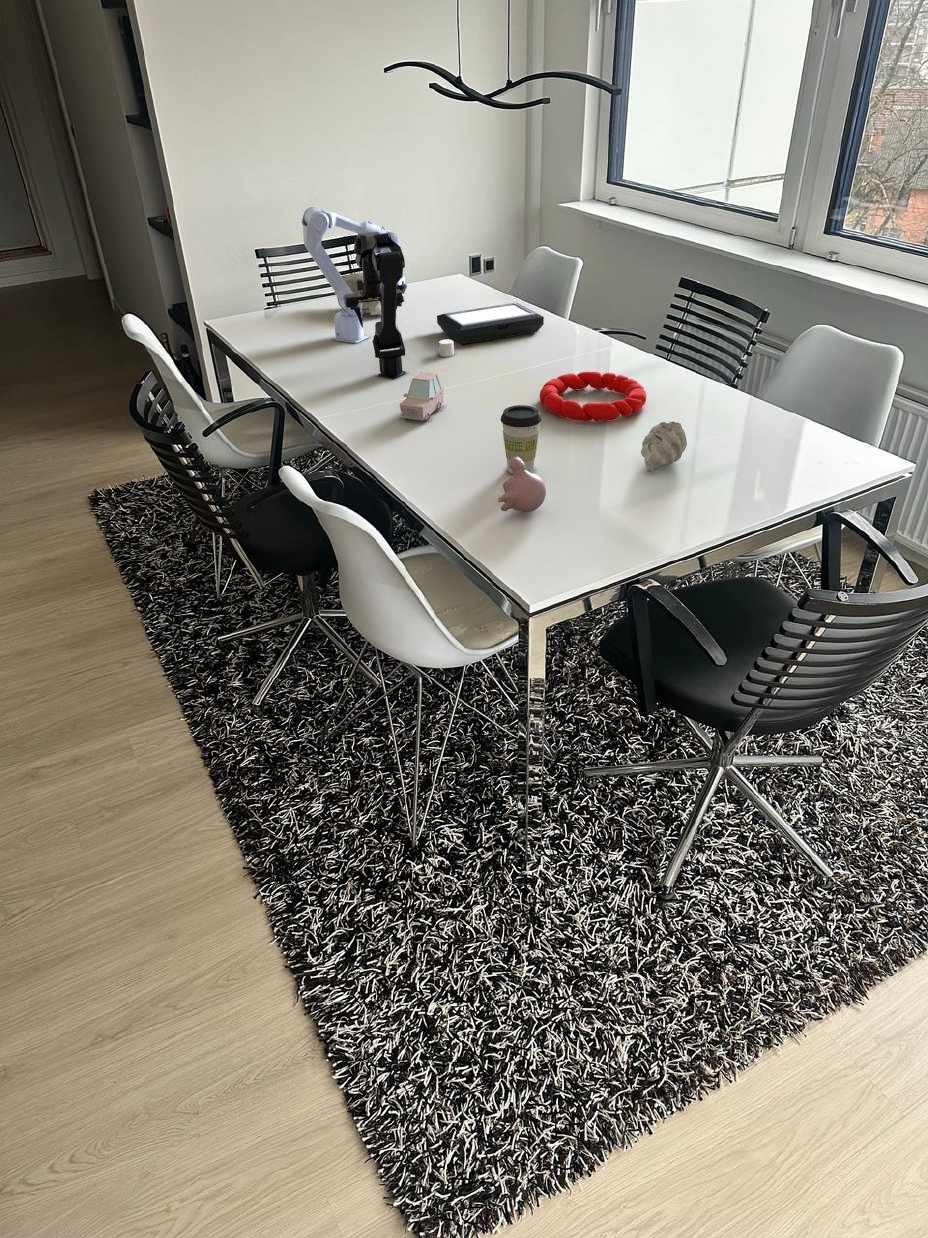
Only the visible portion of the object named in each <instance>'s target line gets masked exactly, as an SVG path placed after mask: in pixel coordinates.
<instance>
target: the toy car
mask: <svg viewBox="0 0 928 1238" xmlns="http://www.w3.org/2000/svg"><path fill="white" fill-rule="evenodd" d="M441 384H442V383H441V381H440V378H439V375H438V373H436V372H426V371H419V373H417V374H416V375H414V376H413V377H412V378H411V381H410V385H409V388H408V390H407V391H408V392H407V393H404V394H403V397H404V398H405V399H404V400H403V401H401V402H400V403H399V409H400V414H401V418H402V419H407V420H415V421H423V422H424V421H425V422H426V421H429V420H430V416H431V414H433V413H434V412H435V411H440V410H441V408H442V406H443V403H444V395H445V393H444V392H445V388H444V387H442V385H441Z"/></svg>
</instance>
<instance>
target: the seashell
mask: <svg viewBox="0 0 928 1238" xmlns="http://www.w3.org/2000/svg"><path fill="white" fill-rule="evenodd" d="M687 445H688V441H687V436H686V432H685V430H684V428H683V426H682V423H680V422H678V421H677V422H676V421H668V422H665V421H662V422H659V423H658V424H656V425H654V426H652V427H651V428H650V430H649V432H648V433H647V435H646V436H644V438H643V440H642V443H641V450H640V454H641V456H642V457H643V458H644V467H645V471H646V472H648V473H649V472H652V471H653V470H655V469H657V468H659V467H660V466H665V465H673V463H675V462H677V461H679V460H680V459H681V458H682V455H683V453H684V452H685V450H686V449H687Z"/></svg>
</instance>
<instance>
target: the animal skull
mask: <svg viewBox="0 0 928 1238" xmlns="http://www.w3.org/2000/svg"><path fill="white" fill-rule="evenodd" d="M341 276H342V278H343V280H344V281H345V283H346V284H347V286H348V287H349V288H350V289H351V291H352V292H353V294H356V295H357V297H358V296H365V295H364V294H363V291H357V284H356V281H357V280H362V281H363V272H360V271H359V272H352V273H349V274H343V275H341ZM334 296H336V294H335V293H334ZM377 298H378V297H377ZM368 299H372V298H368ZM362 305H363V306H362V310H361V313H362V316H363V315H365V312H364V308H365V309H367V310H368V311H369V314H370V316H374V315H375V316H381V302H380V301H372V302H362ZM398 307H399V306H397V308H398Z"/></svg>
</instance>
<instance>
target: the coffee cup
mask: <svg viewBox="0 0 928 1238" xmlns="http://www.w3.org/2000/svg"><path fill="white" fill-rule="evenodd" d="M499 419H500V422H501V423H502V435H503V444H504V445H503V446H504V452H505V458H506V464H507V471H508V472H509V473H510V474H512V469H511V468H510V467H509V461H510V460H511V459H512V458H514V457H519V458H520V459H521V460H522V461H523V462H524V464H525V466H526V471H528V472H529V473H532V472H534V465H535V458H536V455H537V450H538V449H537V448H538V443H539V434H540V423H541V422H542V420H543V419H542V415H541V414H540V410H539V409H538V408H537V407H534V406H531V405H525V404H516V405H511V406H508V407H506V408H504V409H503V411H502V414H501V416H500V418H499Z"/></svg>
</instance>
